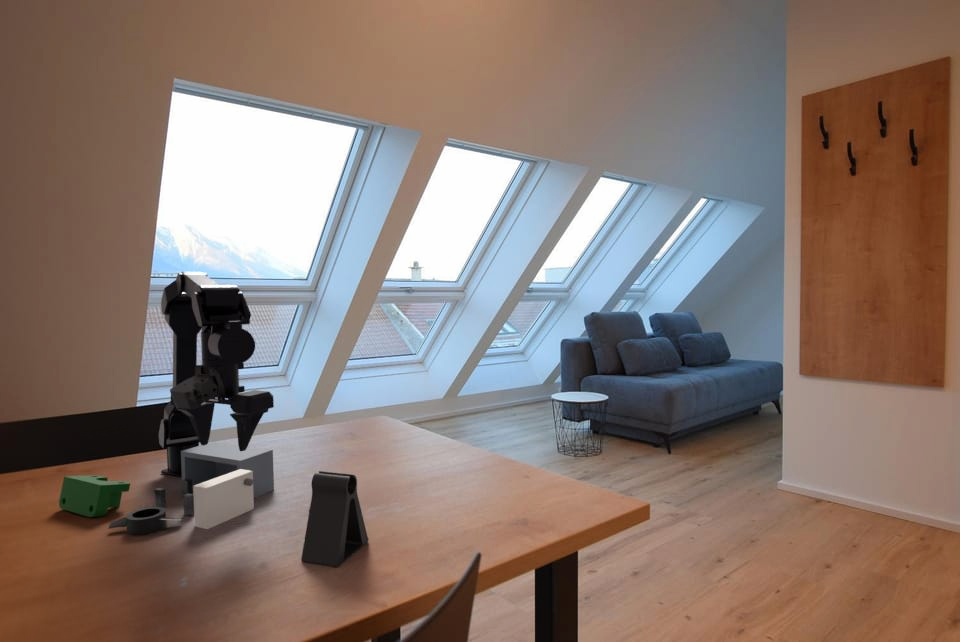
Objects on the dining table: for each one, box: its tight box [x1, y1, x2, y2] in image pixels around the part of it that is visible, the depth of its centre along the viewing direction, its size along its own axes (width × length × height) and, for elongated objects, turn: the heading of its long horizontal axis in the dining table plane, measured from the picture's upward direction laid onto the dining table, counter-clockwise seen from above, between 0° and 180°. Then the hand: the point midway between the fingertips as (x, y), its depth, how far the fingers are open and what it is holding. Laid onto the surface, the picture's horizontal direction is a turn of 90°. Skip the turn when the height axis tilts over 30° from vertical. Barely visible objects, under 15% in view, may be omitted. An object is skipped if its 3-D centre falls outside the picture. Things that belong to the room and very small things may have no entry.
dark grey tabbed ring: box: [107, 506, 184, 537], centre depth 99 cm, size 8×10×3 cm
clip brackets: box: [154, 479, 194, 517], centre depth 109 cm, size 9×7×4 cm
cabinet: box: [181, 441, 275, 499], centre depth 117 cm, size 16×8×8 cm, turn 65°
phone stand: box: [300, 470, 369, 568], centre depth 89 cm, size 9×6×12 cm, turn 161°
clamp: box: [58, 474, 131, 518], centre depth 108 cm, size 12×6×9 cm, turn 57°
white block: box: [193, 469, 255, 530], centre depth 103 cm, size 10×4×7 cm, turn 155°
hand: (223, 447), depth 103 cm, fingers open, 9 cm apart
